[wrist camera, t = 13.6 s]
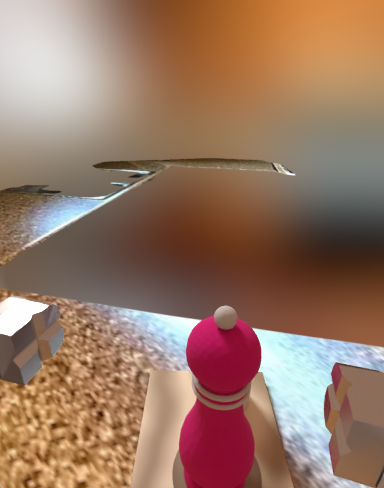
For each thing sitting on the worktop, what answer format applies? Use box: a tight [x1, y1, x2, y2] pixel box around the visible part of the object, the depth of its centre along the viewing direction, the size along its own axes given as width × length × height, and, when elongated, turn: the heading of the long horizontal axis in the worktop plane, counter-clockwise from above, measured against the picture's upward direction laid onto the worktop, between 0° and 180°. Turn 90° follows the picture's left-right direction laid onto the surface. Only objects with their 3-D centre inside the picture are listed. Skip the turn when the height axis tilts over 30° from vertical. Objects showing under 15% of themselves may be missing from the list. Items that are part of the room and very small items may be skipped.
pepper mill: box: [179, 306, 261, 488], centre depth 26 cm, size 7×7×20 cm
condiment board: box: [130, 370, 294, 488], centre depth 33 cm, size 16×18×2 cm
